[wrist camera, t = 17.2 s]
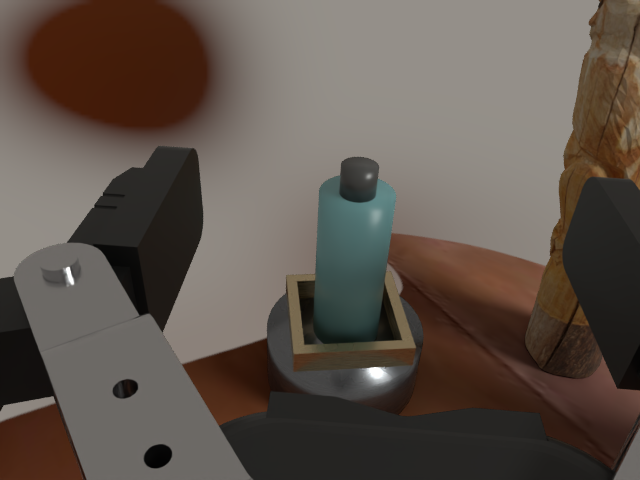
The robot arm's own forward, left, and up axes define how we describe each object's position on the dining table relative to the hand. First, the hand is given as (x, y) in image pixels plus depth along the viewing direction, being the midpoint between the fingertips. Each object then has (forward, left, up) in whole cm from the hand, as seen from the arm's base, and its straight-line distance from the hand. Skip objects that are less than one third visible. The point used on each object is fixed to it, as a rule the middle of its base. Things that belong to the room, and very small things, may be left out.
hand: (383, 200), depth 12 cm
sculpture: (-23, -24, -30) cm, 45 cm away
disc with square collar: (-4, -22, -30) cm, 37 cm away
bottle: (-4, -22, -25) cm, 33 cm away
